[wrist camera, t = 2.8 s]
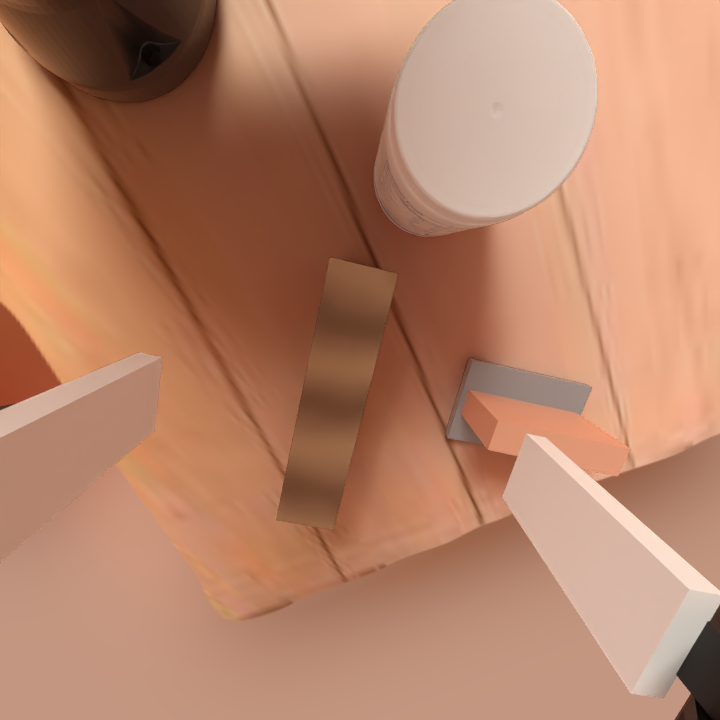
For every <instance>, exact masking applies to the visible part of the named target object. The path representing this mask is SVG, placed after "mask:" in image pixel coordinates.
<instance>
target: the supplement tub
mask: <svg viewBox="0 0 720 720" xmlns="http://www.w3.org/2000/svg"><path fill="white" fill-rule="evenodd" d="M597 100H598V82H597V73H596V67H595V61H594V58H593V55H592V51H591V48H590V46H589V43H588V41H587V39H586V37H585V35H584V33H583V31H582V29H581V27H580V26H579V25H578V23H577V22H576V20H575V19H574V18H573V16H572V15H571V14H570V13H569V12H568V11H567V10H566V9H565V8H564V7H563V6H562V5H560V4H559V3H558V2H557V1H555V0H454V1H452V2H451V3H449V4H448V5H447V6H445V7H444V8H443V9H441V10H440V11H439V12H438V13H437V14H436V15H435V16H434V17H433V18H432V19H431V20H430V21H429V22H428V23H427V25H426V26H425V27H424V28H423V29H422V31H421V32H420V34H419V35H418V37H417V38H416V40H415V41H414V43H413V45H412V46H411V48H410V50H409V52H408V54H407V56H406V58H405V60H404V62H403V64H402V66H401V68H400V70H399V72H398V75H397V78H396V80H395V83H394V87H393V90H392V94H391V97H390V102H389V105H388V109H387V114H386V118H385V122H384V126H383V131H382V135H381V139H380V143H379V147H378V151H377V155H376V160H375V165H374V187H375V192H376V196H377V199H378V201H379V204H380V206H381V208H382V210H383V211H384V213H385V214H386V216H387V217H388V218H389V219H390V220H391V221H392V222H393V223H394V224H395V225H396V226H398V227H399V228H400V229H402V230H404V231H406V232H408V233H411V234H414V235H417V236H422V237H434V236H442V235H447V234H451V233H456V232H460V231H465V230H470V229H474V228H479V227H484V226H488V225H492V224H497V223H500V222H504V221H507V220H510V219H512V218H514V217H516V216H518V215H520V214H522V213H524V212H525V211H527V210H529V209H531V208H533V207H535V206H537V205H538V204H540V203H541V202H543V201H544V200H545V199H547V198H548V197H549V196H550V195H551V194H552V193H554V192H555V191H556V190H557V189H558V188H559V187H560V186H561V185H562V184H563V182H564V181H565V180H566V179H567V178H568V177H569V175H570V174H571V173H572V171H573V170H574V168H575V167H576V165H577V163H578V162H579V160H580V158H581V156H582V154H583V152H584V150H585V148H586V146H587V143H588V141H589V138H590V135H591V132H592V129H593V125H594V121H595V116H596V109H597Z"/></svg>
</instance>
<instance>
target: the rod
mask: <svg viewBox="0 0 720 720" xmlns="http://www.w3.org/2000/svg"><path fill="white" fill-rule="evenodd" d="M397 277H398V273H394V272H390V271H386V270H382V269H377V268H373V267H369V266H365V265H361V264H357V263H353V262H348V261H344V260H340V259H336V258H332V257H330V259H329V264H328V269H327V274H326V278H325V283H324V288H323V293H322V298H321V303H320V308H319V313H318V318H317V322H316V327H315V332H314V337H313V342H312V347H311V352H310V357H309V361H308V366H307V371H306V376H305V381H304V386H303V391H302V396H301V400H300V405H299V410H298V415H297V420H296V425H295V430H294V435H293V439H292V444H291V449H290V454H289V459H288V464H287V469H286V474H285V479H284V483H283V488H282V493H281V498H280V503H279V508H278V513H277V518H276V520H278V521H284V522H290V523H295V524H301V525H307V526H312V527H318V528H324V529H330V530H333V529H334V525H335V521H336V518H337V514H338V510H339V506H340V502H341V498H342V494H343V490H344V486H345V482H346V478H347V474H348V470H349V466H350V462H351V458H352V455H353V451H354V447H355V443H356V439H357V435H358V431H359V427H360V423H361V419H362V415H363V411H364V407H365V403H366V399H367V395H368V392H369V388H370V384H371V380H372V376H373V372H374V368H375V364H376V360H377V356H378V352H379V348H380V344H381V340H382V336H383V333H384V329H385V325H386V321H387V317H388V313H389V309H390V305H391V301H392V297H393V293H394V289H395V285H396V281H397Z"/></svg>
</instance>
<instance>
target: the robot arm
mask: <svg viewBox="0 0 720 720" xmlns="http://www.w3.org/2000/svg"><path fill="white" fill-rule="evenodd" d="M215 10H216V0H0V22H1V23H2V24H3V26H4V27H5V29H6V30H7V31H8V33H9V34H10V35H11V36H12V37H13V39H14V40H15V41H16V42H17V43H18V44H19V45H20V46H21V47H22V48H23V49H24V50H25V51H26V52H27V53H28V54H29V55H30V56H31V57H33V58H34V59H35V60H36V61H37V62H38V63H40V64H41V65H42V66H44V67H45V68H46V69H48V70H49V71H51V72H52V73H54V74H55V75H57V76H58V77H60V78H62V79H63V80H65V81H66V82H68V83H69V84H71V85H72V86H74V87H76V88H78V89H79V90H81V91H83V92H86V93H88V94H90V95H93V96H95V97H98V98H101V99H105V100H110V101H116V102H140V101H145V100H149V99H153V98H156V97H158V96H161V95H163V94H165V93H167V92H169V91H170V90H172V89H174V88H175V87H176V86H178V85H179V84H180V83H181V82H182V81H184V80H185V79H186V78H187V77H188V76H189V74H190V73H191V72H192V71H193V70H194V68H195V67H196V65H197V64H198V62H199V61H200V59H201V57H202V55H203V54H204V51H205V49H206V47H207V45H208V42H209V39H210V36H211V32H212V29H213V24H214V18H215ZM161 365H162V357H159V356H155V355H150V354H145V353H140V352H138V353H136V354H134V355H131V356H129V357H126V358H124V359H122V360H119V361H117V362H114V363H112V364H110V365H107V366H105V367H103V368H100V369H98V370H95V371H93V372H91V373H88V374H86V375H84V376H81V377H79V378H76V379H74V380H72V381H69V382H67V383H64V384H62V385H60V386H57V387H55V388H53V389H50V390H48V391H46V392H43V393H41V394H38V395H36V396H34V397H31V398H29V399H26V400H24V401H22V402H19V403H15V404H11V405H6V406H2V407H0V563H1V562H2V561H3V560H4V559H5V558H6V557H8V556H9V555H10V554H11V553H12V552H13V551H15V550H16V549H17V548H18V547H19V546H20V545H22V544H23V543H24V542H25V541H26V540H27V539H29V538H30V537H31V536H32V535H33V534H34V533H36V532H37V531H38V530H39V529H40V528H41V527H43V526H44V525H45V524H46V523H47V522H48V521H50V520H51V519H52V518H53V517H54V516H55V515H57V514H58V513H59V512H60V511H61V510H62V509H64V508H65V507H66V506H67V505H68V504H69V503H71V502H72V501H73V500H74V499H75V498H77V497H78V496H79V495H80V494H81V493H82V492H84V491H85V490H86V489H87V488H88V487H89V486H90V485H92V484H93V483H94V482H95V481H96V480H98V479H99V478H100V477H101V476H102V475H103V474H104V473H106V472H107V471H108V470H109V469H110V468H112V467H113V466H114V465H115V464H116V463H117V462H119V461H120V460H121V459H122V458H123V457H124V456H126V455H127V454H128V453H129V452H130V451H131V450H133V449H134V448H135V447H136V446H137V445H138V444H140V443H141V442H142V441H143V440H144V439H145V438H147V437H148V436H149V435H150V434H151V433H152V432H154V431H155V424H156V414H157V404H158V394H159V385H160V375H161ZM502 498H503V499H504V501H505V502H506V504H507V506H508V507H509V509H510V510H511V512H512V513H513V515H514V516H515V517H516V519H517V521H518V522H519V524H520V525H521V527H522V528H523V530H524V531H525V533H526V534H527V536H528V538H529V539H530V540H531V542H532V543H533V545H534V547H535V548H536V550H537V551H538V553H539V554H540V556H541V557H542V559H543V560H544V562H545V563H546V565H547V566H548V568H549V570H550V571H551V573H552V574H553V576H554V577H555V579H556V580H557V582H558V583H559V585H560V586H561V588H562V589H563V591H564V592H565V594H566V595H567V597H568V599H569V600H570V602H571V603H572V605H573V606H574V608H575V609H576V611H577V612H578V614H579V615H580V617H581V618H582V620H583V621H584V623H585V624H586V626H587V627H588V629H589V631H590V632H591V633H592V635H593V637H594V638H595V639H596V641H597V643H598V644H599V646H600V647H601V649H602V650H603V652H604V653H605V655H606V656H607V658H608V660H609V661H610V662H611V664H612V666H613V667H614V669H615V670H616V672H617V673H618V675H619V676H620V678H621V679H622V681H623V682H624V684H625V685H626V687H627V688H628V690H629V692H630V693H631V694H638V695H645V696H652V697H658V698H664V697H665V695H666V694H667V692H668V690H669V689H670V687H671V685H672V684H673V682H674V680H675V679H676V677H677V676H678V677H679V679H680V680H681V681H682V682H683V684H684V685H685V686H686V687H687V689H688V690H689V691H690V692H691V694H690V696H689V698H688V699H687V701H686V702H685V704H684V706H683V707H682V709H681V711H680V712H679V714H678V715H677V717H676V719H675V720H720V591H719V590H718V589H717V588H715V587H714V586H713V585H712V584H711V583H710V582H709V581H708V580H707V579H705V578H704V577H703V576H702V575H701V574H700V573H699V572H697V571H696V570H695V569H694V568H693V567H692V566H691V565H690V564H688V563H687V562H686V561H685V560H684V559H683V558H682V557H680V556H679V555H678V554H677V553H676V552H675V551H674V550H673V549H671V548H670V547H669V546H668V545H667V544H666V543H665V542H664V541H662V540H661V539H660V538H659V537H658V536H656V535H655V534H654V533H653V532H652V531H651V530H650V529H649V528H648V527H646V526H645V525H644V524H643V523H642V522H641V521H640V520H639V519H637V518H636V517H635V516H634V515H633V514H632V513H631V512H630V511H628V510H627V509H626V508H625V507H624V506H623V505H622V504H620V503H619V502H618V501H617V500H616V499H615V498H614V497H612V496H611V495H610V494H609V493H608V492H607V491H606V490H605V489H603V488H602V487H601V486H600V485H599V484H598V483H597V482H596V481H594V480H593V479H592V478H591V477H590V476H589V475H588V474H586V473H585V472H584V471H583V470H582V469H581V468H580V467H579V466H577V465H576V464H575V463H574V462H573V461H572V460H571V459H569V458H568V457H567V456H566V455H565V454H564V453H563V452H562V451H560V450H559V449H558V448H557V447H556V446H555V445H554V444H552V443H551V442H550V441H549V440H548V439H547V438H546V437H541V436H536V435H531V434H527V433H526V435H525V438H524V441H523V443H522V446H521V449H520V451H519V454H518V457H517V459H516V462H515V465H514V467H513V470H512V472H511V475H510V478H509V480H508V483H507V486H506V488H505V491H504V494H503V496H502Z"/></svg>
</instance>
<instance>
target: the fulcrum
mask: <svg viewBox="0 0 720 720" xmlns="http://www.w3.org/2000/svg"><path fill="white" fill-rule="evenodd" d="M591 389H592V387H590V386H588V385H586V384H583V383H578V382H574V381H569V380H565V379H560V378H556V377H551V376H547V375H543V374H538V373H534V372H529V371H525V370H520V369H516V368H511V367H507V366H503V365H498V364H494V363H489V362H485V361H480V360H476V359H471V358H469V360H468V363H467V366H466V369H465V372H464V375H463V379H462V382H461V385H460V388H459V391H458V394H457V397H456V400H455V404H454V407H453V410H452V413H451V416H450V419H449V422H448V425H447V428H446V432H445V434H446V436H447V438H450V439H455V440H460V441H465V442H470V443H475V444H480V445H484V446H485V447H486V448H487V450H490V451H495V452H500V453H505V454H509V455H514V456H518V454H519V451H520V449H521V446H522V443H523V441H524V438H525V435H526V433H527V434H531V435H536V436H541V437H546V438H547V439H548V440H549V441H550V442H551V443H552V444H554V445H555V446H556V447H557V448H558V449H559V450H560V451H562V452H563V453H564V454H565V455H566V456H567V457H568V458H569V459H571V460H572V461H573V462H574V463H575V464H576V465H577V466H579V467H580V468H581V469H584V470H589V471H593V472H598V473H603V474H608V475H613V476H618V475H619V472H620V470H621V468H622V466H623V464H624V462H625V460H626V458H627V455H628V453H629V451H630V448H629V447H627V446H626V445H624V444H623V443H621V442H620V441H618V440H617V439H615V438H614V437H612V436H611V435H609V434H608V433H606V432H605V431H603V430H602V429H600V428H599V427H597V426H596V425H594V424H593V423H591V422H590V421H588V420H587V419H585V418H584V417H582V416H581V413H582V411H583V408H584V406H585V404H586V401H587V399H588V396H589V394H590V392H591Z"/></svg>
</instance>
